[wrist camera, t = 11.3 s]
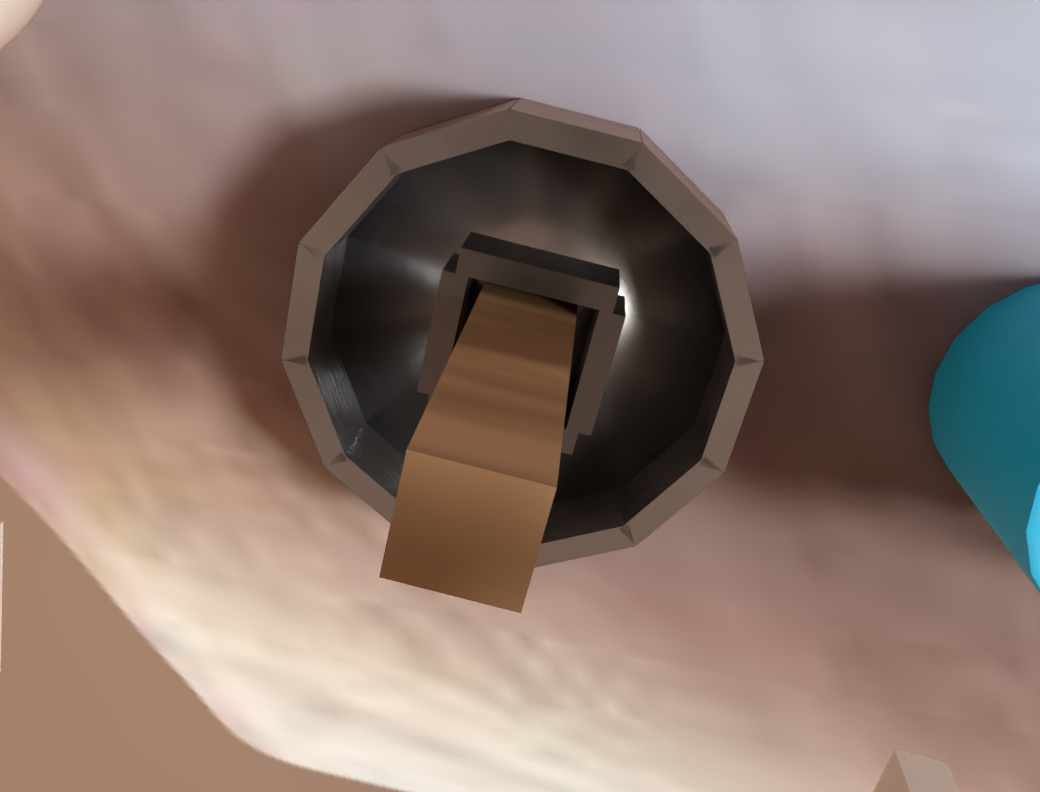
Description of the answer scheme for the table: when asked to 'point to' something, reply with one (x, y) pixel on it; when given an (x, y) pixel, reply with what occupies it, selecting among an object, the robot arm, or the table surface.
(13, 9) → the teapot
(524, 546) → the square wooden stick
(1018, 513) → the mug
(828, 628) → the table surface
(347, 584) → the table surface
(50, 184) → the table surface
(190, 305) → the table surface
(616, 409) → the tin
